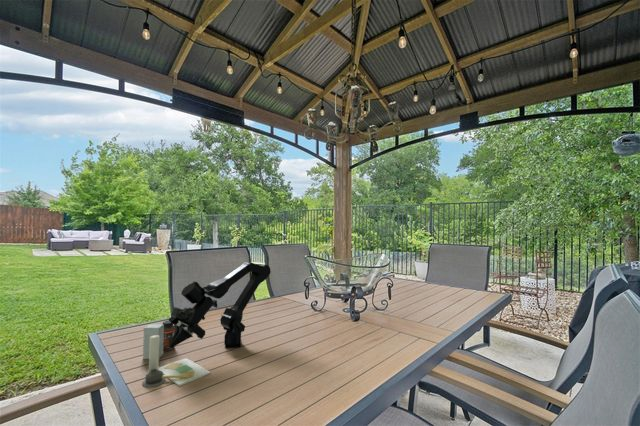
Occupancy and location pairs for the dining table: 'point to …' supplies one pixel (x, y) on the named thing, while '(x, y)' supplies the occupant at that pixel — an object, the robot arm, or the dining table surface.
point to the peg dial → (153, 371)
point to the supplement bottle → (168, 335)
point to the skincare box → (152, 331)
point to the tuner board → (180, 372)
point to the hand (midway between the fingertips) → (170, 347)
